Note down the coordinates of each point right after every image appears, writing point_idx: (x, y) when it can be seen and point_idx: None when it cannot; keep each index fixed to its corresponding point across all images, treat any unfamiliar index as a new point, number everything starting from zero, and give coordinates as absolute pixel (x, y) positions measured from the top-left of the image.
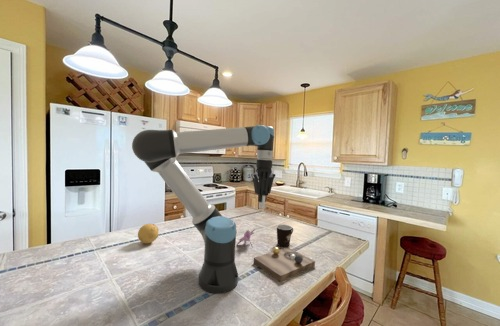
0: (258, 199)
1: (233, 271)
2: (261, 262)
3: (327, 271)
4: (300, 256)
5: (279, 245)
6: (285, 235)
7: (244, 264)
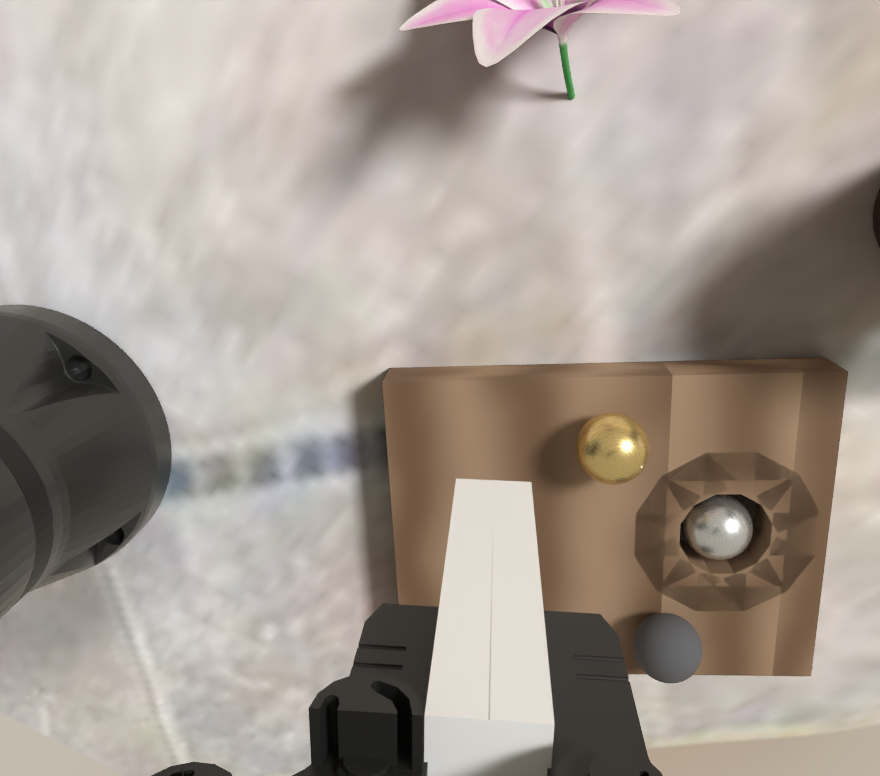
0: (358, 658)
1: (52, 581)
2: (393, 476)
3: (810, 726)
4: (679, 679)
5: (876, 216)
6: None
7: (308, 346)
